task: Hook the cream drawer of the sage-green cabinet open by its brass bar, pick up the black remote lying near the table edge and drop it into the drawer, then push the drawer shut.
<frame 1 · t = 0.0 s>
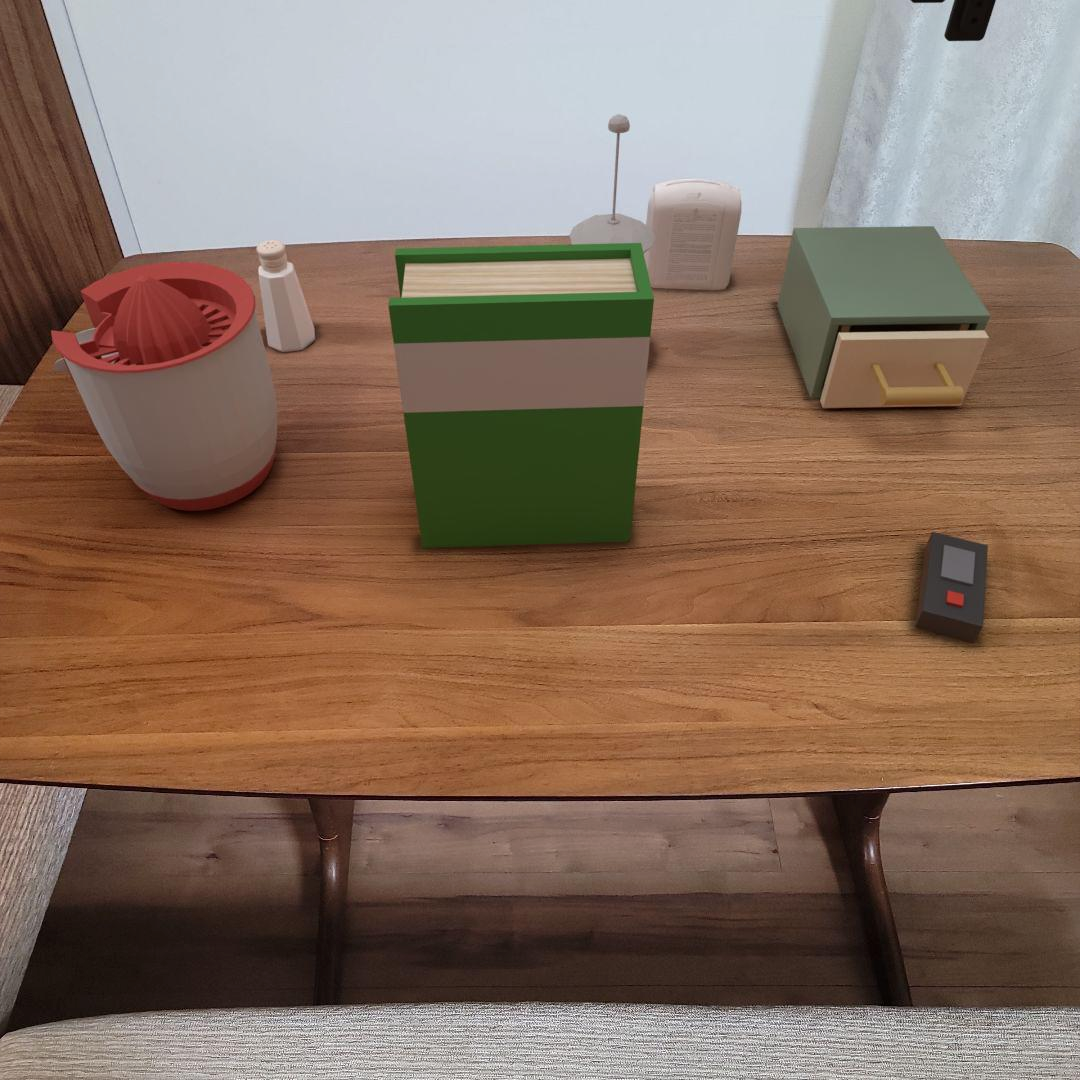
hand: (944, 20, 81), 30 cm above the table, tool pointing down, fingers open, 9 cm apart
citrus juicer: (201, 471, 86), on the table
cabinet: (861, 351, 98), on the table
remote: (946, 597, 75), on the table
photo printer: (684, 285, 108), on the table
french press: (608, 362, 97), on the table
hardback book: (525, 519, 82), on the table
drawer: (888, 342, 91), point 5 cm above the table, slide at 1.0 cm
salt shaker: (292, 340, 100), on the table
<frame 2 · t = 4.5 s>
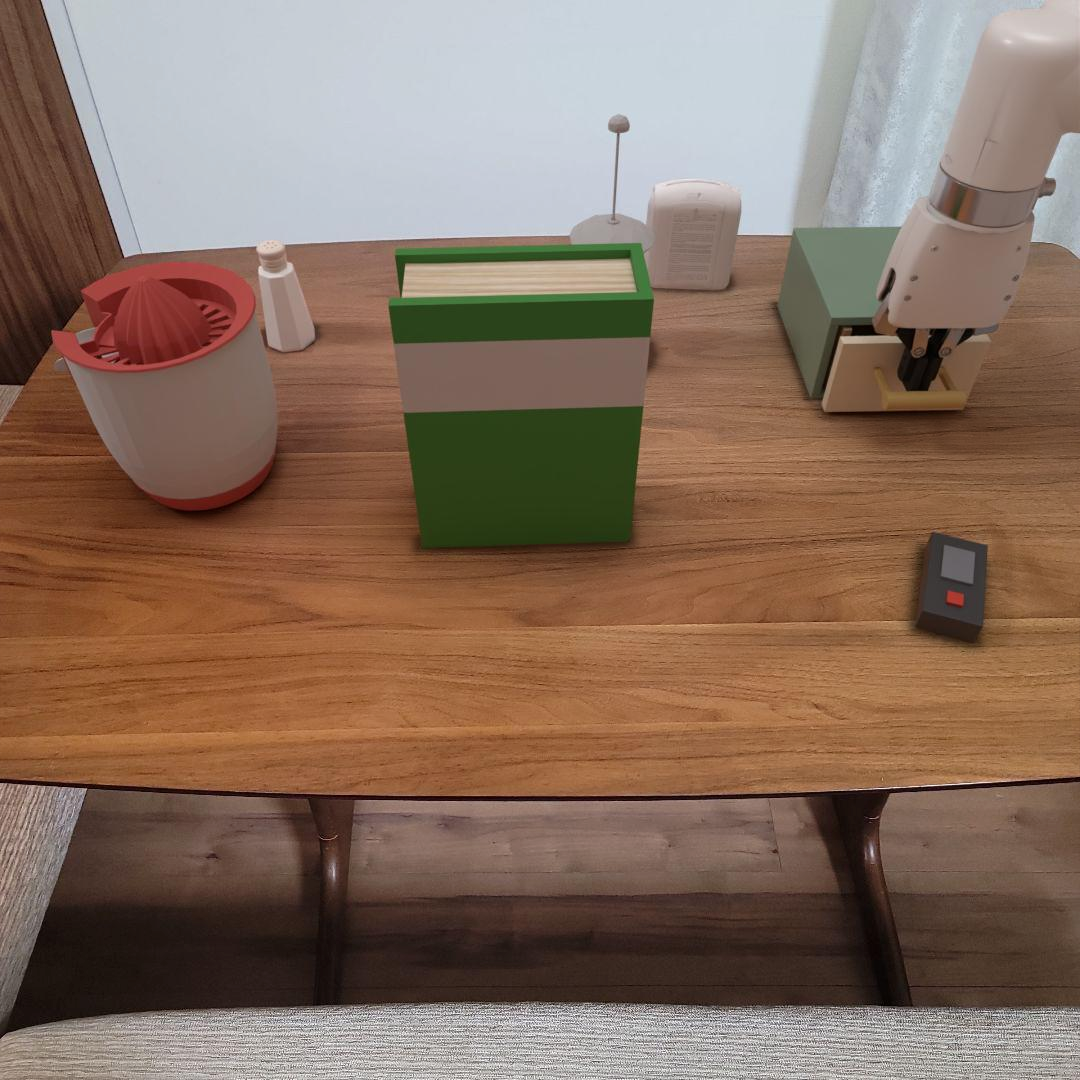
hand: (912, 384, 85), 6 cm above the table, tool pointing down, fingers closed
drawer: (889, 346, 91), point 5 cm above the table, slide at 1.6 cm, touching gripper
everything else where it was.
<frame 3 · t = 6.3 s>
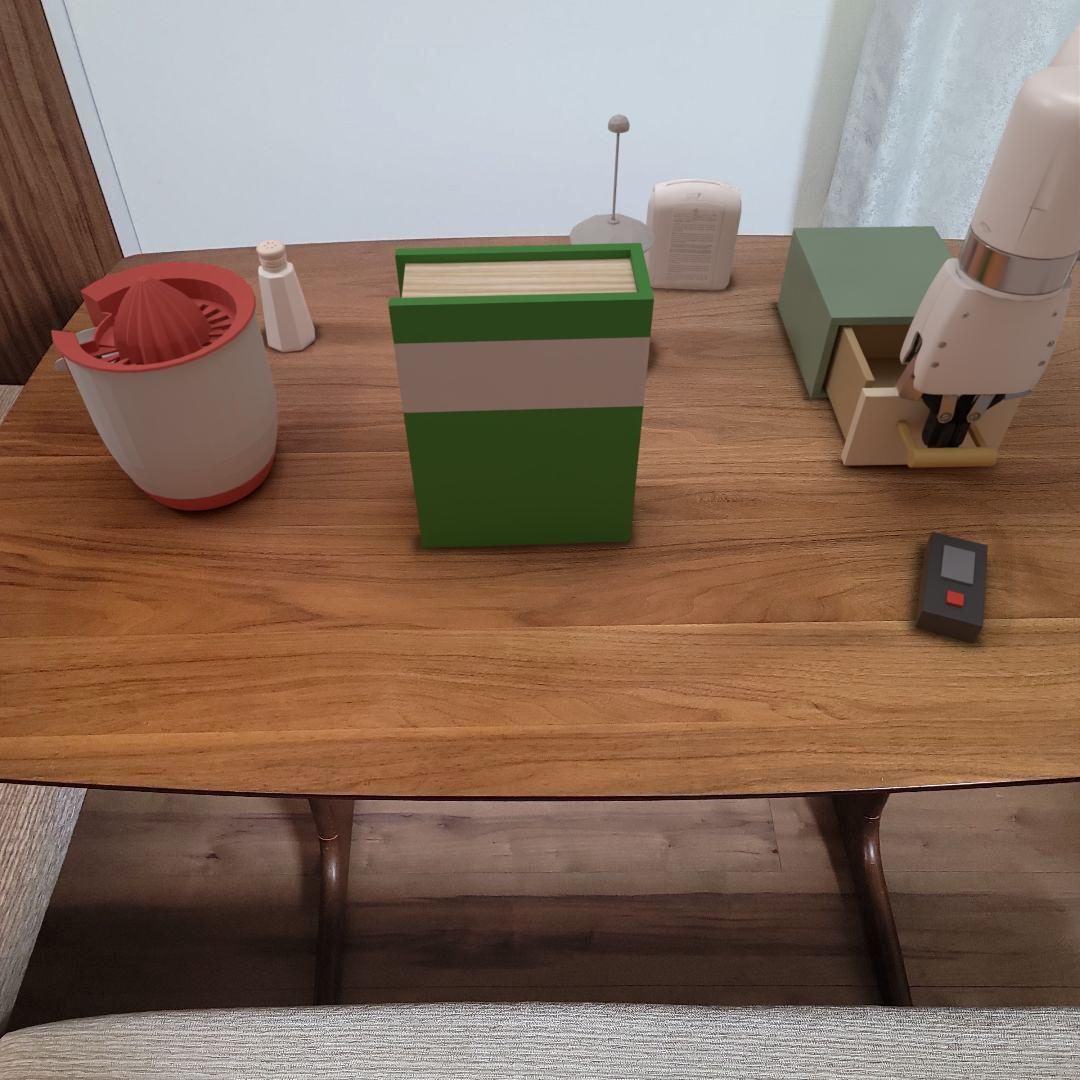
hand: (937, 448, 80), 5 cm above the table, tool pointing down, fingers closed
drawer: (913, 395, 85), point 5 cm above the table, slide at 9.4 cm, touching gripper
everything else where it was.
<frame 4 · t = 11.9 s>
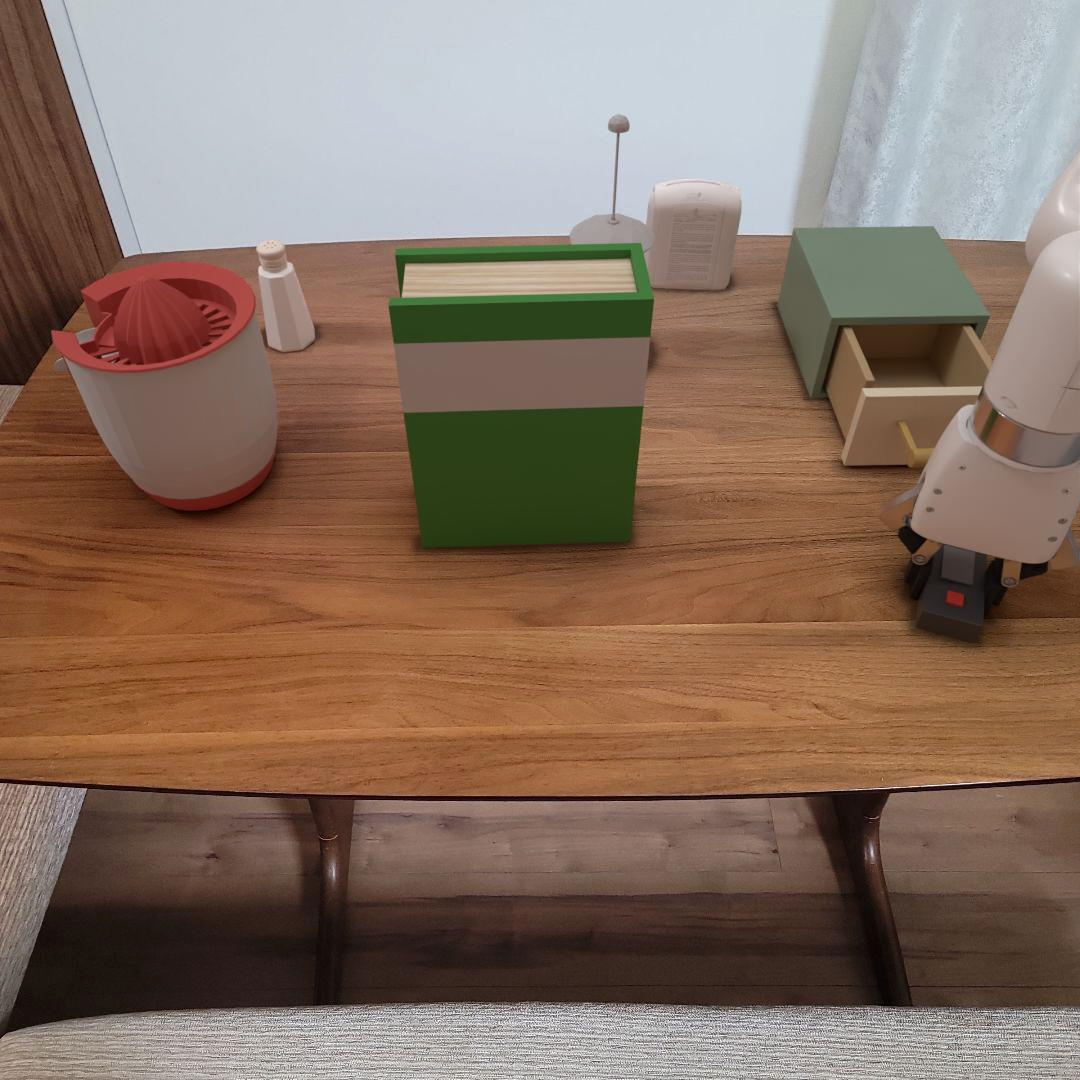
hand: (947, 594, 75), 0 cm above the table, tool pointing down, fingers closed on remote, 4 cm apart
remote: (946, 597, 75), on the table, touching gripper
drawer: (913, 395, 85), point 5 cm above the table, slide at 9.4 cm
everything else where it was.
when the fingers open (8 cm above the table, at t = 18.7 s): remote drops 5 cm, resting on drawer.
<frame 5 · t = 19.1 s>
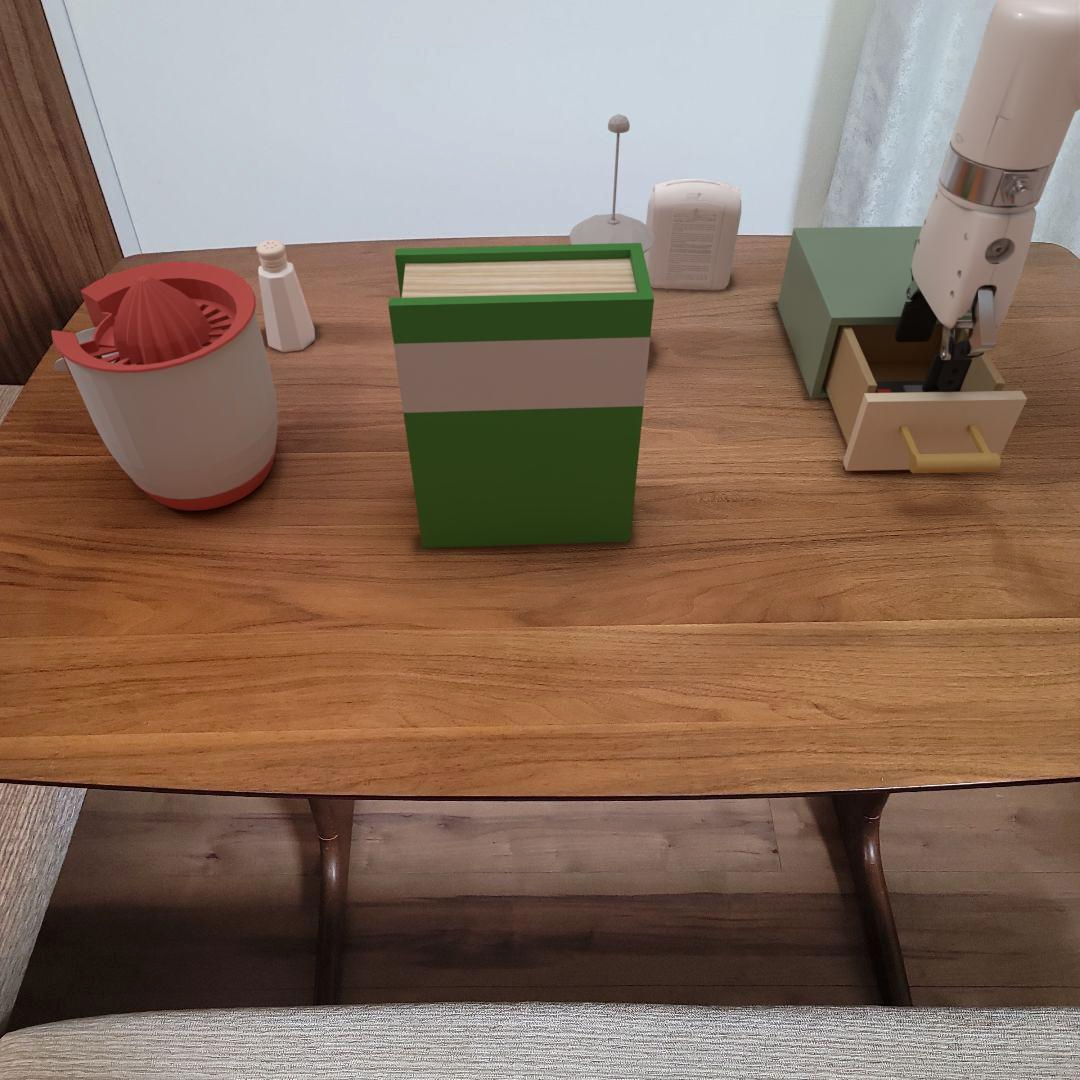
hand: (925, 364, 83), 8 cm above the table, tool pointing down, fingers open, 7 cm apart
remote: (904, 417, 88), point 2 cm above the table, touching drawer
drawer: (916, 400, 85), point 5 cm above the table, slide at 10.1 cm, touching gripper, remote
everything else where it was.
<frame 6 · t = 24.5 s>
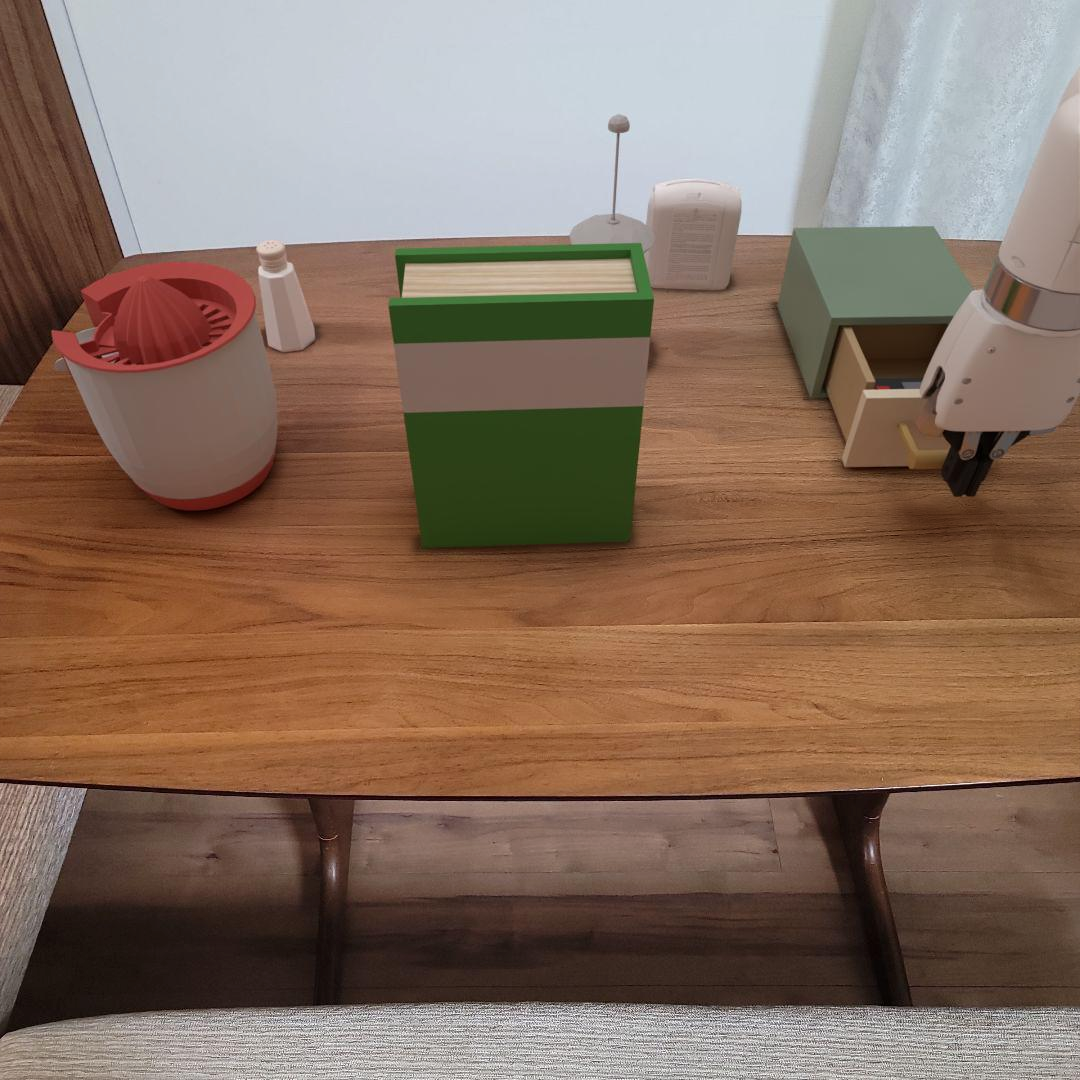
hand: (957, 484, 77), 5 cm above the table, tool pointing down, fingers closed
drawer: (914, 396, 85), point 5 cm above the table, slide at 9.6 cm, touching gripper, remote
everything else where it was.
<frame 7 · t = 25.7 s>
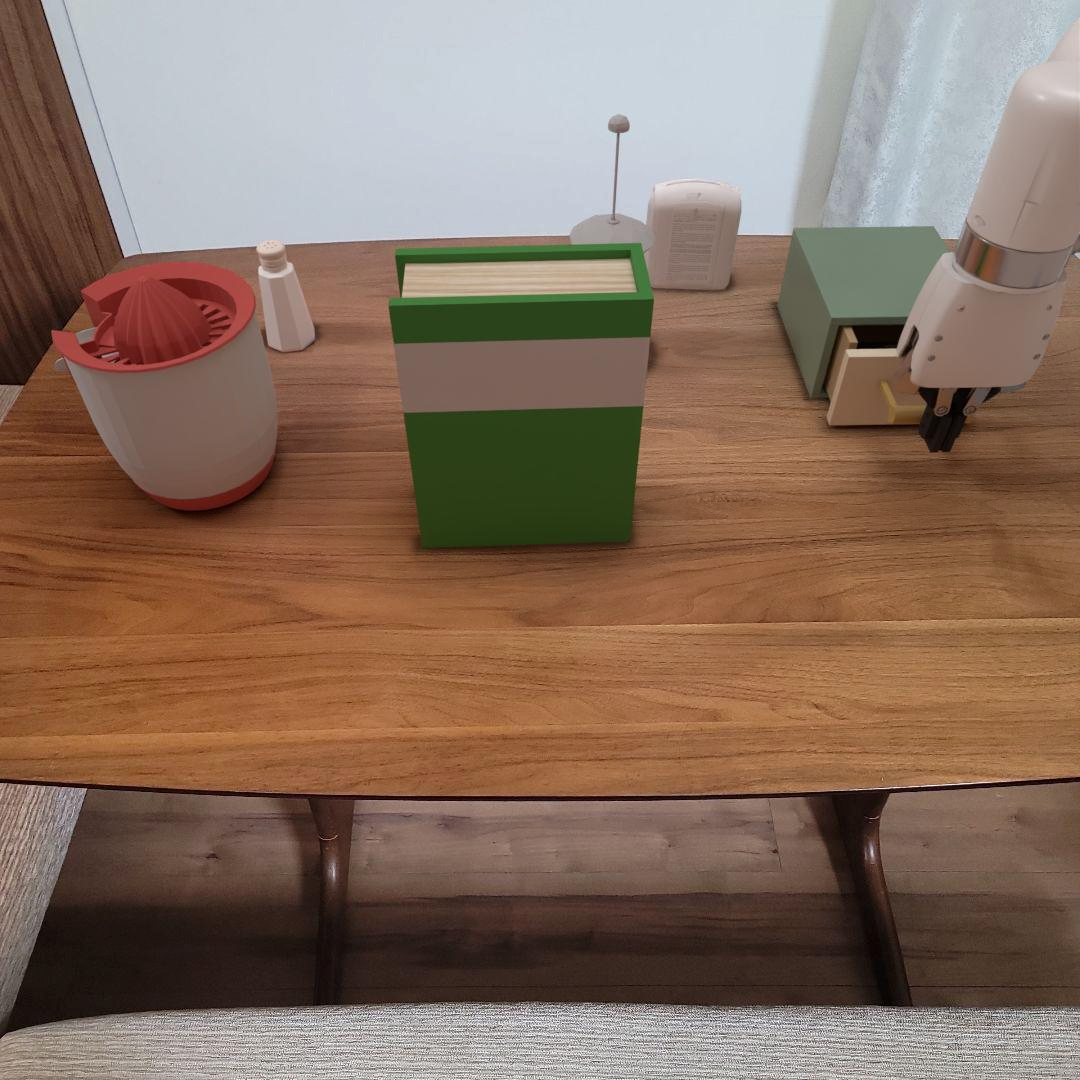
hand: (934, 441, 81), 5 cm above the table, tool pointing down, fingers closed
remote: (885, 376, 92), point 2 cm above the table, touching drawer
drawer: (895, 358, 89), point 5 cm above the table, slide at 3.6 cm, touching gripper, remote
everything else where it was.
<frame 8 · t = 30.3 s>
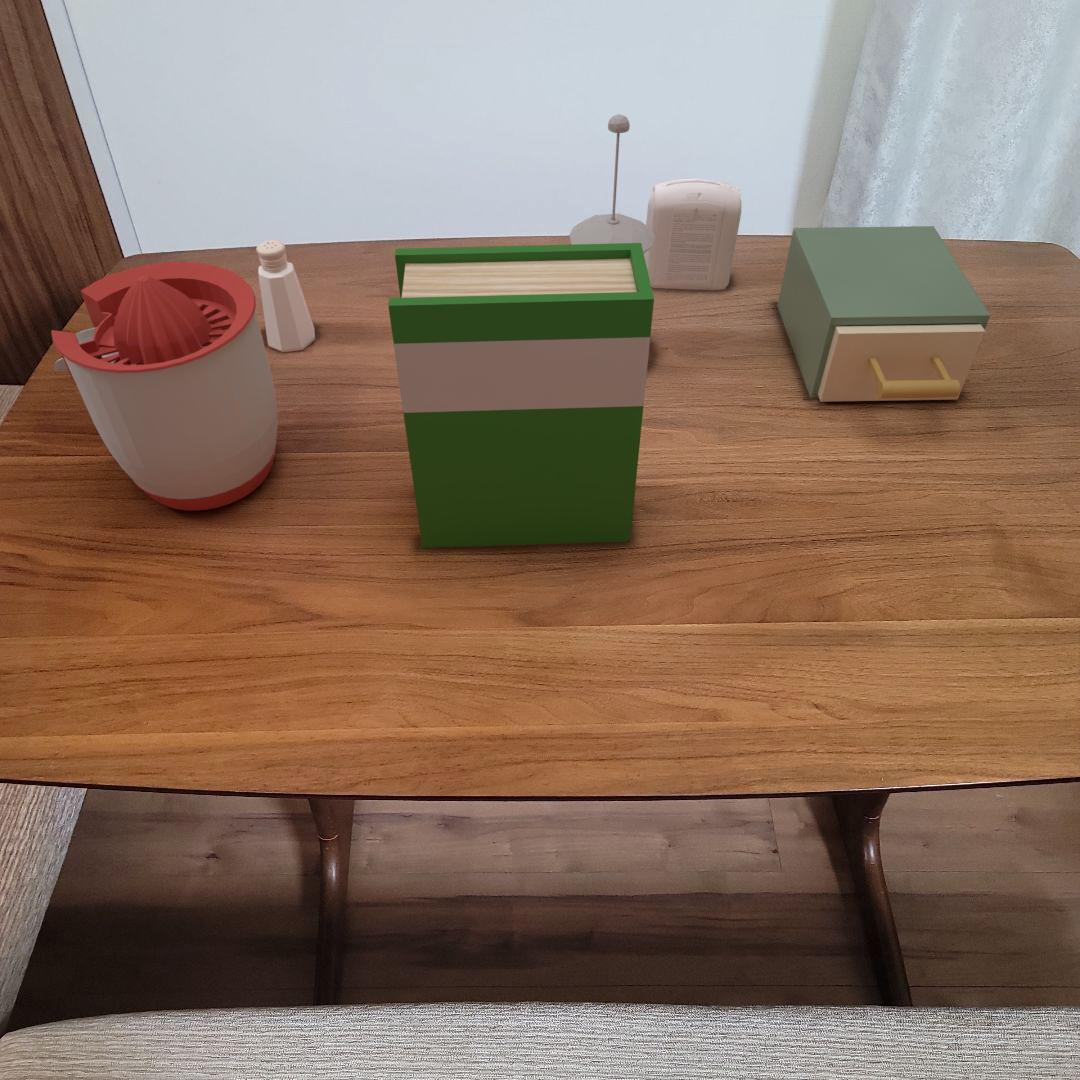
remote: (875, 354, 94), point 2 cm above the table, touching drawer
drawer: (885, 337, 92), point 5 cm above the table, slide at 0.0 cm, touching remote
everything else where it was.
at the end: remote inside the target area in the cabinet (3.5 cm from its centre), point 2.1 cm above the cabinet's base; drawer slide at 0.0 cm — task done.
